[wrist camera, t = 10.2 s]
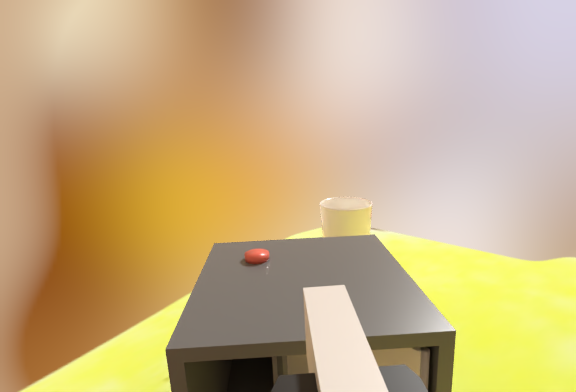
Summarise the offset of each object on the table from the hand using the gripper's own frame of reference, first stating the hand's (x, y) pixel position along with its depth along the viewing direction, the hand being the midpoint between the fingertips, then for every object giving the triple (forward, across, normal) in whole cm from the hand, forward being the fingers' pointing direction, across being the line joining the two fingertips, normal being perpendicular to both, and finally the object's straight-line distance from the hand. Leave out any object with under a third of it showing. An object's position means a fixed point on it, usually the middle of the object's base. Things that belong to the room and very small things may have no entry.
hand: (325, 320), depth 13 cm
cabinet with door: (+16, 0, -21) cm, 27 cm away
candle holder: (+52, +11, -22) cm, 57 cm away
